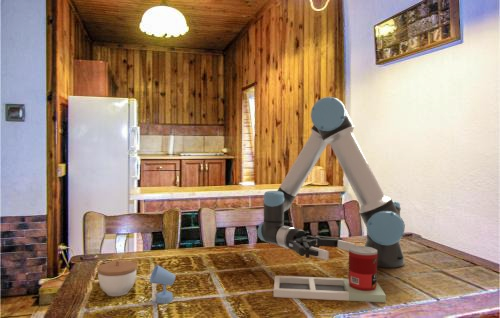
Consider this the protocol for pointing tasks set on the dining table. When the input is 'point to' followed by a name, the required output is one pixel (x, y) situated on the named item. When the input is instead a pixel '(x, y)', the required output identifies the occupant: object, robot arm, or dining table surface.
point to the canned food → (363, 268)
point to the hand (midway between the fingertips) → (342, 251)
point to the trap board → (324, 289)
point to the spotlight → (163, 278)
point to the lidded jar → (117, 277)
